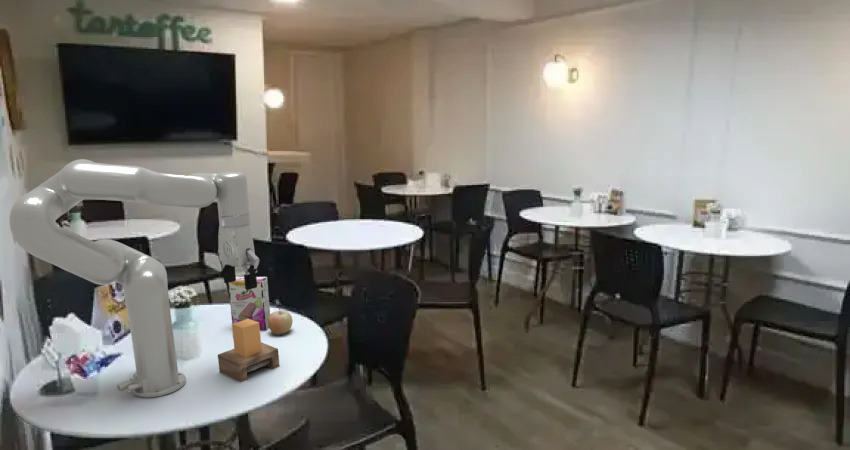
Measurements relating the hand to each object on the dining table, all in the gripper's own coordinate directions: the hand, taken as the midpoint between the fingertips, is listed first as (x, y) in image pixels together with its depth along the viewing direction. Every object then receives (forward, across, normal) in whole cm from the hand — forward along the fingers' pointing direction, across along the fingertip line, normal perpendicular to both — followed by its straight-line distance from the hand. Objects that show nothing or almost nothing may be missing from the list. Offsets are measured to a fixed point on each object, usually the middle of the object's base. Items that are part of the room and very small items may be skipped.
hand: (240, 285), depth 159 cm
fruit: (+24, -15, +21) cm, 35 cm away
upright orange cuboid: (+18, 0, 0) cm, 19 cm away
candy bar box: (+24, -26, +18) cm, 40 cm away
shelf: (+24, 0, 0) cm, 24 cm away
